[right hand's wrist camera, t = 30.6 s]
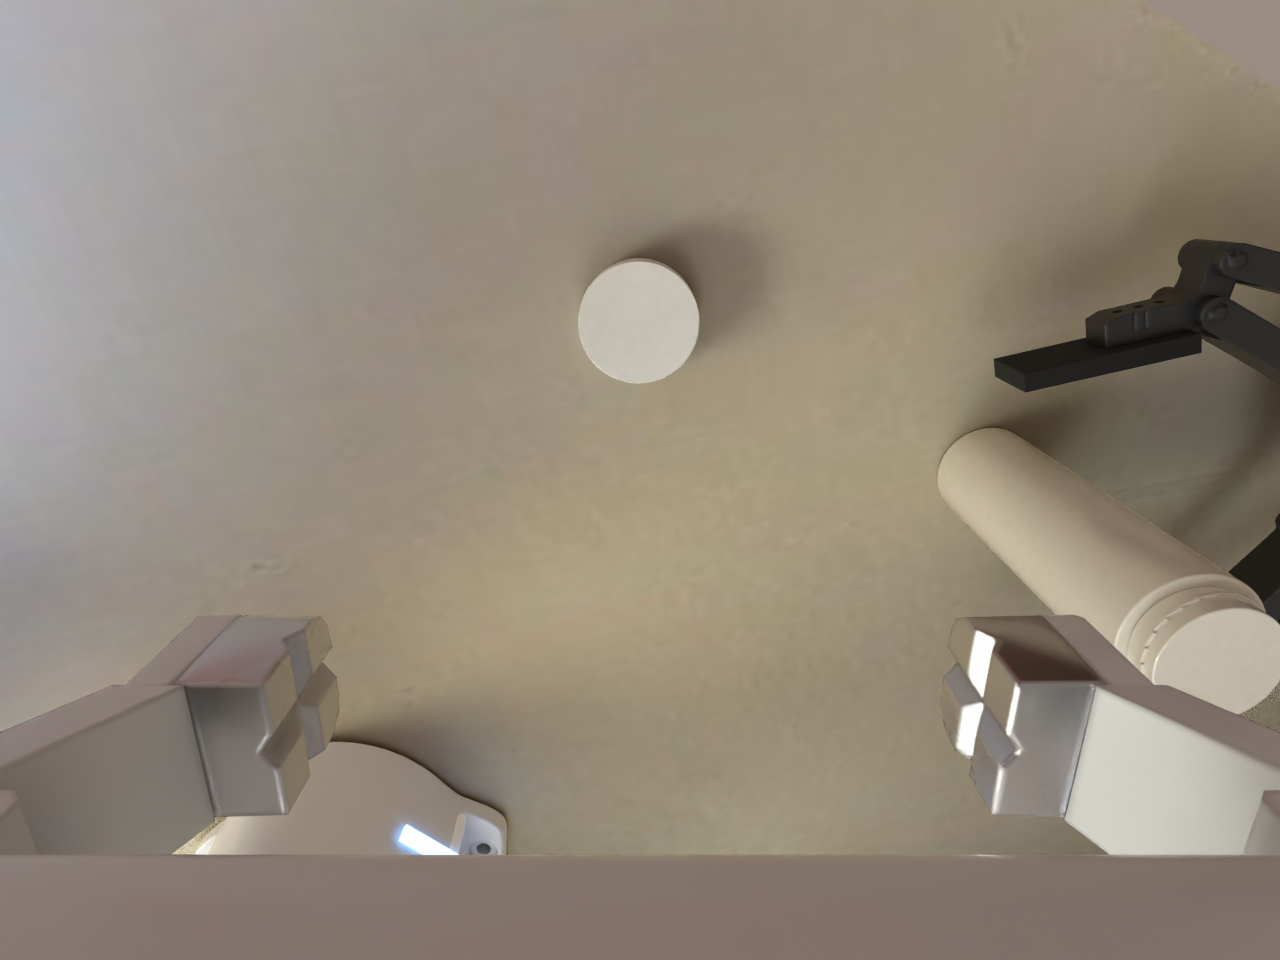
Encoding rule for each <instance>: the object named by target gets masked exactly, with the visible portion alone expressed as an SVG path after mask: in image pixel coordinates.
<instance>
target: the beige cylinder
mask: <svg viewBox="0 0 1280 960" xmlns="http://www.w3.org/2000/svg"><path fill="white" fill-rule="evenodd" d="M937 483H938V489H939V492H940V494H941V496H942V498H943V500H944V501H945V502H946V504H947V505H948V506H949V507H950V508H951V509H952V510H953V511H954V512H955V513H956V514H957V515H958V516H959V517H960V518H961V519H962V520H963V521H964V522H965V523H966V524H967V525H968V526H969V527H970V528H971V529H972V530H973V531H974V532H975V533H976V534H977V535H978V536H979V537H980V538H981V539H982V540H983V541H984V542H985V544H986V545H987V546H988V547H989V548H990V549H991V550H992V551H993V552H994V553H995V554H996V555H997V556H998V557H999V558H1000V559H1001V560H1002V561H1003V562H1004V563H1005V564H1006V565H1007V566H1008V567H1009V568H1010V569H1011V570H1012V571H1013V572H1014V573H1015V574H1016V575H1017V576H1018V577H1019V578H1020V579H1021V580H1022V581H1023V582H1024V583H1025V584H1026V585H1027V586H1028V587H1029V589H1030V590H1031V591H1032V592H1033V593H1034V594H1035V595H1036V596H1037V597H1038V598H1039V599H1040V600H1041V601H1042V602H1043V603H1044V604H1045V605H1046V606H1047V607H1048V608H1049V609H1050V610H1051V611H1052V612H1053V613H1054V614H1055V615H1072V614H1074V615H1077V616H1080V617H1083V618H1085V619H1086V620H1087V621H1088V622H1089V623H1090V624H1091V625H1092V626H1093V627H1094V628H1095V629H1096V630H1097V631H1098V632H1099V633H1100V634H1102V635H1103V636H1104V637H1105V638H1106V639H1107V640H1108V641H1109V642H1110V643H1111V644H1112V645H1113V646H1114V647H1115V648H1116V649H1117V650H1118V651H1119V652H1120V653H1121V654H1123V655H1124V656H1125V657H1126V658H1127V659H1128V660H1129V661H1130V662H1131V663H1132V664H1133V665H1134V666H1135V667H1136V668H1137V669H1138V670H1139V671H1140V672H1141V673H1143V674H1144V675H1145V676H1146V677H1147V678H1148V679H1149V680H1150V681H1151V682H1152V683H1153V684H1154V685H1169V686H1171V687H1173V688H1176V689H1178V690H1181V691H1183V692H1185V693H1188V694H1190V695H1192V696H1195V697H1197V698H1199V699H1202V700H1204V701H1207V702H1209V703H1211V704H1214V705H1216V706H1218V707H1221V708H1223V709H1225V710H1228V711H1230V712H1233V713H1235V714H1237V715H1238V714H1240V713H1243V712H1245V711H1247V710H1248V709H1250V708H1252V707H1254V706H1255V705H1256V704H1258V703H1259V702H1261V701H1262V700H1263V699H1264V698H1265V697H1267V696H1268V695H1269V694H1270V693H1271V691H1272V690H1273V689H1274V688H1275V687H1276V685H1277V684H1278V683H1279V681H1280V624H1279V623H1278V622H1277V621H1276V620H1275V619H1274V618H1272V617H1271V616H1270V615H1268V614H1267V613H1266V611H1265V608H1264V606H1263V603H1262V601H1261V600H1260V598H1259V596H1258V595H1257V594H1256V593H1255V591H1254V590H1253V589H1252V588H1250V587H1249V586H1248V585H1247V584H1245V583H1244V582H1242V581H1241V580H1239V579H1238V578H1236V577H1235V576H1233V575H1232V574H1230V573H1228V572H1227V571H1225V570H1224V569H1222V568H1221V567H1219V566H1218V565H1216V564H1215V563H1213V562H1212V561H1210V560H1208V559H1207V558H1205V557H1204V556H1202V555H1201V554H1199V553H1198V552H1196V551H1195V550H1193V549H1192V548H1190V547H1188V546H1187V545H1185V544H1184V543H1182V542H1181V541H1179V540H1178V539H1176V538H1175V537H1173V536H1172V535H1170V534H1168V533H1167V532H1165V531H1164V530H1162V529H1161V528H1159V527H1158V526H1156V525H1155V524H1153V523H1152V522H1150V521H1148V520H1147V519H1145V518H1144V517H1142V516H1141V515H1139V514H1138V513H1136V512H1135V511H1133V510H1132V509H1130V508H1128V507H1127V506H1125V505H1124V504H1122V503H1121V502H1119V501H1118V500H1116V499H1115V498H1113V497H1112V496H1110V495H1108V494H1107V493H1105V492H1104V491H1102V490H1101V489H1099V488H1098V487H1096V486H1095V485H1093V484H1092V483H1090V482H1088V481H1087V480H1085V479H1084V478H1082V477H1081V476H1079V475H1078V474H1076V473H1075V472H1073V471H1072V470H1070V469H1068V468H1067V467H1065V466H1064V465H1062V464H1061V463H1059V462H1058V461H1056V460H1055V459H1053V458H1052V457H1050V456H1048V455H1047V454H1045V453H1044V452H1042V451H1041V450H1039V449H1038V448H1036V447H1035V446H1033V445H1032V444H1030V443H1028V442H1027V441H1025V440H1024V439H1022V438H1021V437H1019V436H1018V435H1016V434H1014V433H1013V432H1010V431H1008V430H1005V429H1000V428H985V429H979V430H976V431H973V432H970V433H968V434H966V435H964V436H963V437H961V438H960V439H958V440H957V441H956V442H955V443H954V444H953V445H952V446H951V447H950V448H949V449H948V450H947V452H946V453H945V455H944V456H943V458H942V460H941V463H940V465H939V469H938V476H937Z"/></svg>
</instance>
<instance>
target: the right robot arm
mask: <svg viewBox="0 0 1280 960" xmlns="http://www.w3.org/2000/svg"><path fill="white" fill-rule="evenodd" d="M331 648H332V645H331V640H330V635H329V630H328V625H327V624H326V622H325V621H324V620H323V619H322V618H321V617H304V616H251V615H246V616H242V615H207V616H200V617H197V618H196V619H195V620H193V621H192V622H191V623H190V624H189V625H188V626H187V627H186V628H185V629H184V630H183V631H182V632H181V633H180V634H179V635H178V636H177V637H176V638H174V639H173V640H172V641H171V642H170V643H169V644H168V645H167V646H166V647H165V648H164V649H163V650H162V651H161V652H160V653H159V654H158V655H157V656H155V657H154V658H153V659H152V660H151V661H150V662H149V663H148V664H147V665H146V666H145V667H144V668H143V669H142V670H141V671H140V672H139V673H138V674H136V675H135V676H134V677H133V678H132V679H131V680H130V681H129V682H128V683H127V684H126V685H111V686H109V687H107V688H104V689H102V690H99V691H97V692H95V693H92V694H90V695H88V696H85V697H83V698H80V699H78V700H76V701H73V702H71V703H69V704H66V705H64V706H61V707H59V708H57V709H54V710H52V711H50V712H47V713H45V714H43V715H40V716H38V717H35V718H33V719H31V720H28V721H26V722H24V723H21V724H19V725H16V726H14V727H12V728H9V729H7V730H5V731H2V732H0V960H1280V732H1278V731H1275V730H1273V729H1270V728H1268V727H1266V726H1263V725H1261V724H1259V723H1256V722H1254V721H1251V720H1249V719H1247V718H1244V717H1242V716H1240V715H1237V714H1235V713H1233V712H1230V711H1228V710H1225V709H1223V708H1221V707H1218V706H1216V705H1214V704H1211V703H1209V702H1207V701H1204V700H1202V699H1199V698H1197V697H1195V696H1192V695H1190V694H1188V693H1185V692H1183V691H1181V690H1178V689H1176V688H1173V687H1171V686H1169V685H1154V684H1153V683H1152V682H1151V681H1150V680H1149V679H1148V678H1147V677H1146V676H1145V675H1144V674H1143V673H1141V672H1140V671H1139V670H1138V669H1137V668H1136V667H1135V666H1134V665H1133V664H1132V663H1131V662H1130V661H1129V660H1128V659H1127V658H1126V657H1125V656H1124V655H1123V654H1121V653H1120V652H1119V651H1118V650H1117V649H1116V648H1115V647H1114V646H1113V645H1112V644H1111V643H1110V642H1109V641H1108V640H1107V639H1106V638H1105V637H1104V636H1103V635H1102V634H1100V633H1099V632H1098V631H1097V630H1096V629H1095V628H1094V627H1093V626H1092V625H1091V624H1090V623H1089V622H1088V621H1087V620H1086V619H1085V618H1083V617H1080V616H1077V615H1074V614H1072V615H1048V616H1000V617H964V618H957V619H956V620H955V622H954V625H953V627H952V629H951V633H950V639H949V645H948V648H949V649H950V651H951V652H952V654H953V655H954V657H955V658H956V660H957V663H956V664H955V665H954V666H953V667H952V669H951V670H950V671H949V672H948V673H947V674H946V675H945V676H944V677H943V685H942V693H941V707H942V718H943V723H944V726H945V729H946V733H947V736H948V738H949V740H950V742H951V743H952V745H953V747H954V749H955V750H956V751H957V752H959V753H960V754H962V755H963V756H965V757H967V758H968V759H970V760H971V761H972V762H971V768H970V774H969V776H970V777H971V779H972V781H973V783H974V784H975V786H976V788H977V790H978V791H979V793H980V795H981V797H982V798H983V800H984V802H985V804H986V805H987V807H988V809H989V810H990V812H991V814H992V815H1005V816H1042V817H1065V821H1066V822H1068V823H1069V824H1070V825H1071V826H1073V827H1074V828H1075V829H1077V830H1078V831H1079V832H1081V833H1082V834H1083V835H1085V836H1086V837H1087V838H1088V839H1090V840H1091V841H1092V842H1094V843H1095V844H1096V845H1098V846H1099V847H1100V848H1102V849H1103V850H1104V851H1106V852H1107V853H1108V854H1109V855H507V823H506V820H505V818H504V817H503V815H502V814H500V813H499V812H498V811H496V810H494V809H492V808H491V807H488V806H486V805H484V804H481V803H479V802H476V801H473V800H471V799H468V798H465V797H462V796H460V795H459V794H457V793H456V792H454V791H453V790H452V789H450V788H449V787H448V786H447V785H445V784H444V783H443V782H442V781H441V780H440V779H438V778H437V777H436V776H435V775H434V774H432V773H431V772H430V771H428V770H427V769H425V768H424V767H422V766H421V765H419V764H417V763H415V762H414V761H412V760H410V759H408V758H406V757H404V756H402V755H399V754H397V753H394V752H392V751H389V750H386V749H383V748H379V747H375V746H371V745H366V744H360V743H352V742H329V741H330V740H331V738H332V736H333V734H334V729H335V725H336V721H337V717H338V713H339V691H338V684H337V677H336V676H335V675H334V674H333V673H332V672H331V671H330V670H329V669H328V668H327V666H326V665H325V664H324V663H323V660H324V658H325V657H326V655H327V654H328V652H329V651H330V649H331ZM215 817H226V819H225V820H223V821H222V822H221V823H219V824H218V825H217V826H216V827H214V828H213V829H212V830H211V831H209V832H208V833H207V834H206V835H205V836H204V837H203V839H202V840H201V842H200V844H199V846H198V848H197V850H196V852H195V854H194V855H171V854H172V853H173V852H175V851H176V850H177V849H179V848H180V847H181V846H183V845H184V844H185V843H187V842H188V841H189V840H190V839H192V838H193V837H194V836H196V835H197V834H198V833H200V832H201V831H202V830H204V829H205V828H206V827H208V826H209V825H210V824H211V823H213V822H214V821H215ZM482 843H485V844H488V845H483V844H482Z"/></svg>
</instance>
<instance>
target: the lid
mask: <svg viewBox="0 0 1280 960" xmlns="http://www.w3.org/2000/svg"><path fill="white" fill-rule="evenodd" d="M699 326H700V318H699V310H698V306H697V303H696V300H695V298H694V295H693V293H692V291H691V290H690V288H689V286H688V284H687V283H686V282H685V280H684V279H683V278H682V277H681V276H680V275H679V274H678V273H677V272H676V271H675V270H673V269H672V268H671V267H669V266H667V265H665V264H663V263H661V262H658V261H655V260H651V259H645V258H632V259H626V260H623V261H619V262H617V263H615V264H612V265H610V266H609V267H607V268H606V269H604V270H603V271H602V272H601V273H600V274H598V275H597V277H596V278H595V279H594V280H593V281H592V283H591V284H590V286H589V287H588V289H587V291H586V293H585V295H584V297H583V299H582V302H581V305H580V309H579V315H578V330H579V335H580V339H581V342H582V345H583V347H584V349H585V351H586V353H587V355H588V356H589V358H590V359H591V360H592V362H593V363H594V364H595V365H596V366H597V367H598V368H599V369H600V370H602V371H603V372H604V373H606V374H607V375H609V376H611V377H613V378H615V379H618V380H621V381H624V382H629V383H649V382H654V381H657V380H660V379H662V378H665V377H667V376H669V375H670V374H672V373H674V372H675V371H676V370H677V369H679V368H680V367H681V366H682V365H683V364H684V363H685V361H686V360H687V359H688V357H689V356H690V354H691V353H692V351H693V349H694V347H695V344H696V342H697V338H698V334H699Z"/></svg>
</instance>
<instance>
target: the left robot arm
mask: <svg viewBox="0 0 1280 960" xmlns="http://www.w3.org/2000/svg"><path fill="white" fill-rule="evenodd" d="M1178 264H1179V265H1180V267H1181V268H1182V270H1181V273H1180V276H1179V279H1178V281H1177V283H1176V285H1175V286H1174V288H1173V287H1163V288H1161V289H1159V290H1157V291H1156V292H1155V293H1154V294H1153V295H1152V298H1151V299H1148V300H1144V301H1140V302H1135V303H1131V304H1127V305H1122V306H1118V307H1115V308H1109V309H1105V310H1101V311H1098V312H1096V313H1094V314H1093V315H1091V316H1090V317H1088V318H1086V319H1085V321H1086V338H1083V339H1078V340H1074V341H1070V342H1065V343H1061V344H1057V345H1052V346H1048V347H1044V348H1039V349H1035V350H1031V351H1026V352H1022V353H1018V354H1013V355H1009V356H1005V357H1000V358H996V359H994V367H995V377H997V378H999V379H1001V380H1003V381H1005V382H1007V383H1009V384H1011V385H1012V386H1014V387H1016V388H1018V389H1020V390H1022V391H1024V392H1029V391H1034V390H1038V389H1043V388H1047V387H1051V386H1056V385H1060V384H1065V383H1069V382H1073V381H1078V380H1082V379H1087V378H1091V377H1096V376H1100V375H1104V374H1109V373H1113V372H1118V371H1122V370H1127V369H1131V368H1135V367H1140V366H1144V365H1149V364H1153V363H1158V362H1162V361H1166V360H1171V359H1175V358H1180V357H1184V356H1188V355H1193V354H1197V353H1201V344H1202V339H1204V340H1205V341H1207V342H1209V343H1211V344H1212V345H1214V346H1216V347H1217V348H1219V349H1221V350H1223V351H1224V352H1226V353H1228V354H1230V355H1231V356H1233V357H1235V358H1237V359H1238V360H1240V361H1242V362H1244V363H1245V364H1247V365H1249V366H1250V367H1252V368H1254V369H1256V370H1257V371H1259V372H1261V373H1263V374H1264V375H1266V376H1268V377H1270V378H1271V379H1273V380H1275V381H1277V382H1278V383H1280V328H1278V327H1276V326H1275V325H1273V324H1271V323H1270V322H1268V321H1266V320H1264V319H1263V318H1261V317H1259V316H1258V315H1256V314H1254V313H1253V312H1251V311H1249V310H1247V309H1246V308H1244V307H1242V306H1241V305H1239V304H1237V303H1236V302H1234V301H1232V300H1231V299H1230V297H1231V294H1232V291H1233V288H1234V286H1235V283H1238V284H1242V285H1246V286H1250V287H1254V288H1258V289H1262V290H1266V291H1270V292H1274V293H1278V294H1280V252H1277V251H1273V250H1269V249H1265V248H1262V247H1258V246H1254V245H1250V244H1246V243H1235V242H1225V241H1214V240H1202V239H1194V240H1191V241H1188V242H1187V243H1186V244H1185V245H1183V247H1182V248H1181V250H1180V251H1179V255H1178ZM1275 522H1276V529H1275V530H1274V531H1273V532H1272V533H1271V534H1270V535H1269V536H1268V537H1267V538H1266V539H1264V540H1263V541H1262V542H1261V543H1260V544H1259V545H1258V546H1257V547H1256V548H1254V549H1253V550H1252V551H1251V552H1250V553H1249V554H1248V555H1247V556H1246V557H1245V558H1243V559H1242V560H1241V561H1240V562H1239V563H1238V564H1237V565H1236V566H1235V567H1233V568H1232V569H1231V570H1230V571H1229V572H1228V573H1230V574H1232V575H1233V576H1235V577H1236V578H1238V579H1239V580H1241V581H1242V582H1244V583H1245V584H1247V585H1248V586H1249V587H1250V588H1252V589H1253V590H1254V591H1255V593H1256V594H1257V595H1258V596H1259V598H1260V600H1261V601H1262V603H1263V606H1264V608H1265V611H1266V613H1267V614H1268V615H1270V616H1271V617H1272V618H1274V619H1275V620H1276V621H1277V622H1278V623H1279V624H1280V514H1279V515H1278V516H1277V517H1276V520H1275Z"/></svg>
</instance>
